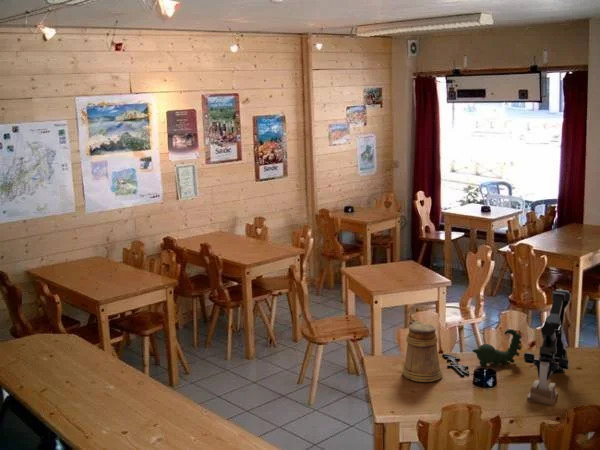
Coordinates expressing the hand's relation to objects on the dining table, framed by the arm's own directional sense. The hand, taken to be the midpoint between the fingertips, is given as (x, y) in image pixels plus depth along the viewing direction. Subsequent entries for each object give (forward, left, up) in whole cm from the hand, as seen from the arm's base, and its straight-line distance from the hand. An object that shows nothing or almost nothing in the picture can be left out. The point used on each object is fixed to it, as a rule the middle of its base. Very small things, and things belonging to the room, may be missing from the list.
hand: (543, 378), depth 314 cm
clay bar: (-1, -1, -7) cm, 7 cm away
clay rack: (-1, -1, -9) cm, 10 cm away
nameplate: (+24, -42, -10) cm, 50 cm away
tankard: (+44, -36, -10) cm, 58 cm away
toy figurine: (+5, -40, -10) cm, 41 cm away
